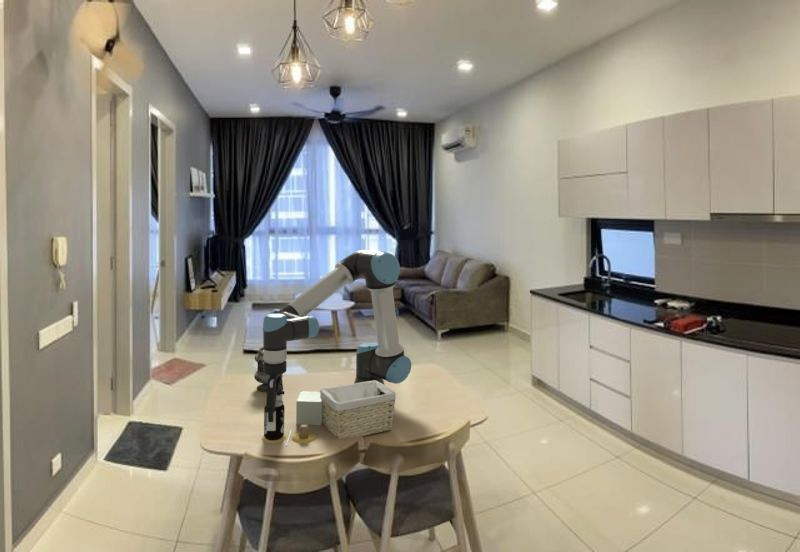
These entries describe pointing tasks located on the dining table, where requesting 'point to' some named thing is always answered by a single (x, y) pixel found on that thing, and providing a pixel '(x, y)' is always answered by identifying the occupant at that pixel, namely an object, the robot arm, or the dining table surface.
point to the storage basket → (357, 409)
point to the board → (296, 436)
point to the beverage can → (279, 423)
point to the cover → (309, 408)
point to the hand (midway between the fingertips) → (274, 421)
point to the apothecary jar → (261, 372)
